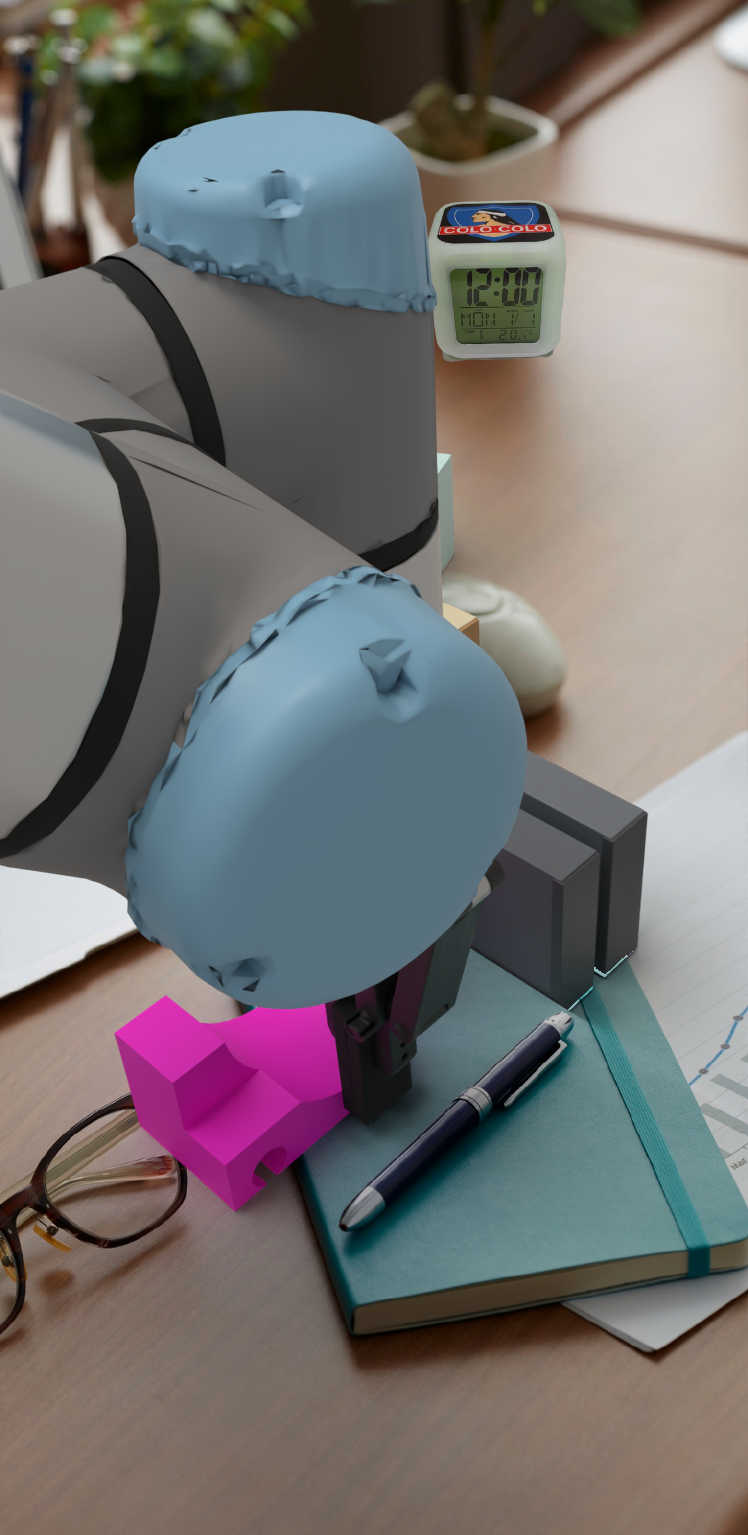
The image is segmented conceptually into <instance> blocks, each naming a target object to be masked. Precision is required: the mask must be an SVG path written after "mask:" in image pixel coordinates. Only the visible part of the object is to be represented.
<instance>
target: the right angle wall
mask: <svg viewBox="0 0 748 1535" xmlns="http://www.w3.org/2000/svg"><path fill="white" fill-rule="evenodd" d="M437 470H438V508H439V509H438V514H439V519H440V545H441V570H442V573H443V572H444V570H445V569H446V568H447V566H448V564H449V563H450V561H451V560H452V558H453V556H454V555H455V550H456V549H455V522H454V521H455V520H454V519H455V518H454V492H453V490H454V489H453V487H454V486H453V456H452V454H450V453H441V452H437Z"/></svg>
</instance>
